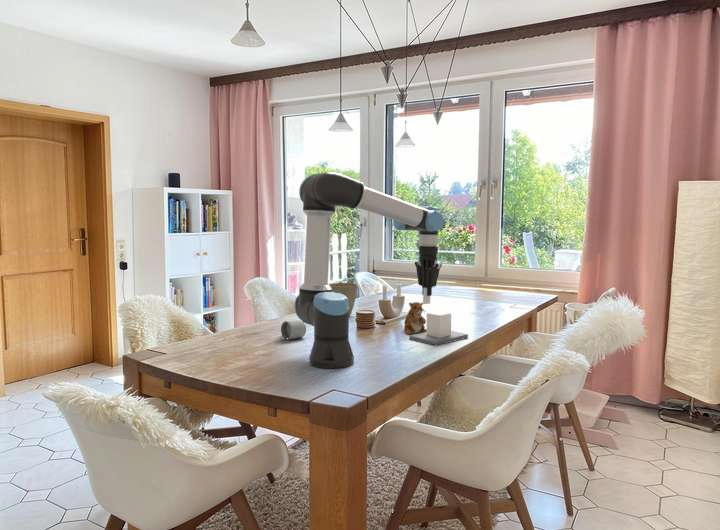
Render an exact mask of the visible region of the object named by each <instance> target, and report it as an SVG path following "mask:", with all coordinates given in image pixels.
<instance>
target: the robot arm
mask: <svg viewBox="0 0 720 530" xmlns="http://www.w3.org/2000/svg"><path fill="white" fill-rule="evenodd" d="M298 195H299V199H300V201H301V202H302V212H303V213H304V214H305V215H306V231H305V232H306V233H305V252H304V254H305V255H304V272H303V273H304V275H303V278H304V279H303V283H302V284H301V285H300V286H299V289H298V290H299V291H298V295H297V296H296V297H295V300H294V304H293V305H294V307H293V308H294V313H295V315H296V316H297V318H298V319H299V320H300V321H302V322H304V324H305V325H310V326H312V327H314V328H313V333H314V334H313V335H314V339H313V344H312V347H311V350H310V354H309V357H308V358H309V359H308V361H309V363H308V364H309V365H310V364H311V365H310V366H312V367H314V366H315V367H314V368H319V369H340V368H342V369H343V368H346V367H350V366H352V365H353V364H354V363H355V360H354V359H355V357H354V356H355V355H354V353H353V349H352V346H351V343H350V339H349V331H350V330H349V325H350V324H349V320H350V319H349V318H350V316H349V304H348V298H347V297H346V296H345V295H343V294H340V293H335V292H332V288H331V287H330V286H329V285H328V284H329V264H330V243H331V227H332V226H331V225H332V223H331V222H332V217H333V216H334V215H335V214H336V210H337V208H336V207H345V208H348V209H351V210H355V209H361V210H364V211H367V212H369V213H370V212H371V213H372V214H376V215H378V216H381V217H383V218H388V219H391V220H392V223H393V227H394V228H395V229H396V230H398V231H414V232H415V231H417V232H418V231H419V232H418V233H419V237H418V238H419V241H418V243H419V247H418V255H419V258H418V260H417V261H414V265H415V268H416V275H417V283H418V286H421V287H422V289H421V291H422V293H421V294H422V296H423V297H422V303H423V305H428V304H431V297H432V295H433V294H432V291H433V288H434V287H437V282H438V279H439V274H440V271H441V268H442V266H443V264H442V263H440V262H438V259H437V255H438V252H439V251H438V250H439V247H438V246H437V245H439V231H440V230H441V228H442V227H443V226H444V222H445V221H444V216H443V214H442V213H441V212H440V211H439V210H440V209H439V208H438V207H436V206H418V205H415V204H413V203H411V202H407V201H405V200H402V199H399V198H397V197H394V196H392V195H389V194H385V193H383V192H380V191H377V190H375V189H373V188H369V187H366V186H365V185H364V182H362V181H359V180H358V179H354V178H352V177H349V176H348V175H347V176H346V175H344V174H341V173H340V172H339V173H338V172H334V171H326V172H320V173H313V174H311V175H309V176H307V177H306V178H305V179H303V180H302V182H301V184H300V186H299V188H298Z"/></svg>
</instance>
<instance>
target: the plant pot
mask: <svg viewBox="0 0 720 530" xmlns="http://www.w3.org/2000/svg"><path fill="white" fill-rule="evenodd" d="M328 285H329V286H330V287H331V288H332V292H335V293H340V294H343V295H345V296H346V297H347V298H348V304H349V317H351V316H352V313H353V309H354V306H355V303H356V300H357V299H356V298H357V293H358V283H355V282H337V283H336V282H334V283H328ZM350 315H351V316H350Z"/></svg>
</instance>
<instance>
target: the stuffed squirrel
mask: <svg viewBox="0 0 720 530" xmlns="http://www.w3.org/2000/svg"><path fill="white" fill-rule="evenodd" d="M423 305H424V304H423V302H419V301H418V302H417V301H414V302H408V306H409V307H410V308H409V310H408V311H407V314H406V316H405V320H404V322H403V323H404V327H403V329H404V330H403V331H404V333H405V334H406V335H407V334H409V335H413V334H419V333H424V332H427V328H425V327H426V326H425V324H427V319H426V318H424V317H423V316H422V314H423V313H424V314H425V312H426V313H427V311H426V310H425V309H424V308H423Z"/></svg>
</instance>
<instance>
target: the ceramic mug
mask: <svg viewBox="0 0 720 530" xmlns="http://www.w3.org/2000/svg"><path fill="white" fill-rule="evenodd" d="M280 333H281V336H282V338H283V339H284V340H285V339H286V340H285V341H290V339H291V340H296V339H301V338H303V337H304V336H306V333H307V326H306V323H304V322H303V321H302V320H300V319H299V320H298V319H297V320H285V321H283V322H282V324H281V326H280ZM287 338H288V339H287Z"/></svg>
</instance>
